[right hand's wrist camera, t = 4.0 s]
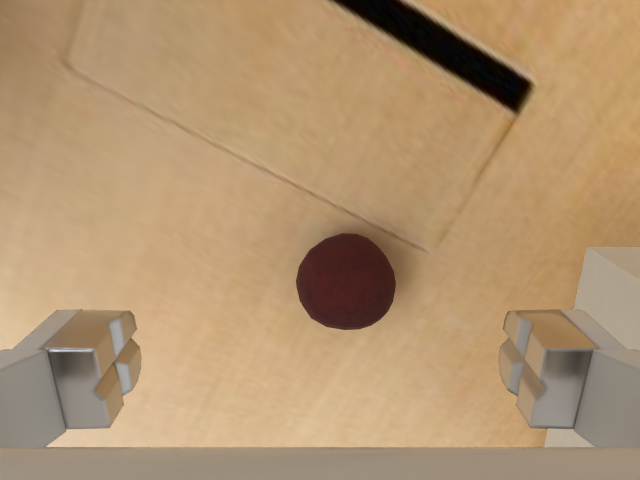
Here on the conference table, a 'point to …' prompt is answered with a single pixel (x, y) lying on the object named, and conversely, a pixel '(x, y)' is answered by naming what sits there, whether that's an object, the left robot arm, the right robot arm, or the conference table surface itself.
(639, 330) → the bar
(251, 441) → the conference table surface
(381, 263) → the dark red round ball
